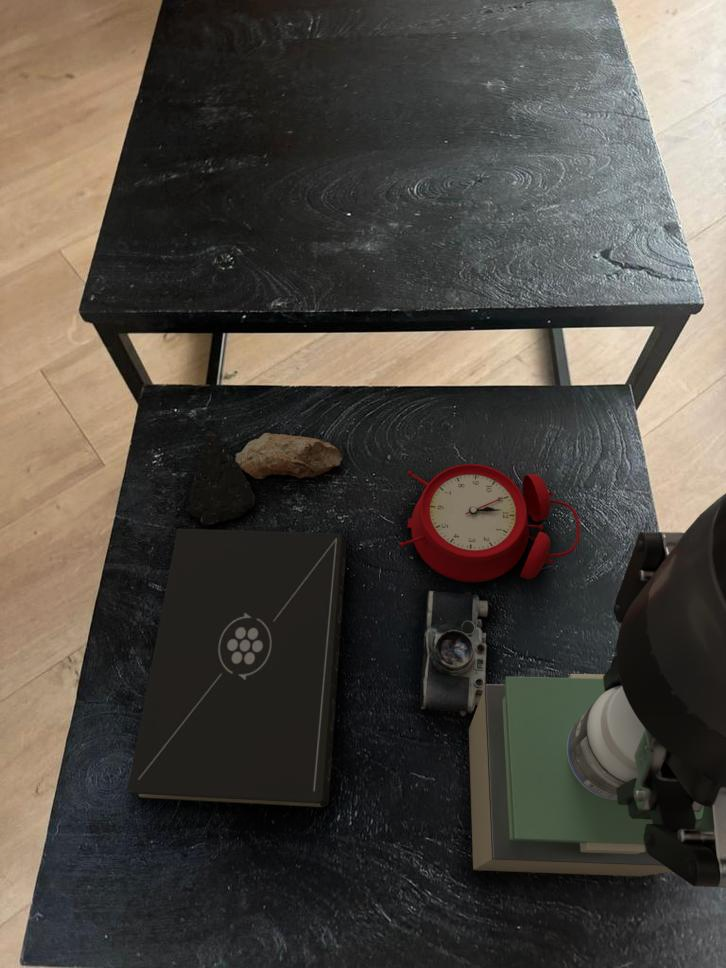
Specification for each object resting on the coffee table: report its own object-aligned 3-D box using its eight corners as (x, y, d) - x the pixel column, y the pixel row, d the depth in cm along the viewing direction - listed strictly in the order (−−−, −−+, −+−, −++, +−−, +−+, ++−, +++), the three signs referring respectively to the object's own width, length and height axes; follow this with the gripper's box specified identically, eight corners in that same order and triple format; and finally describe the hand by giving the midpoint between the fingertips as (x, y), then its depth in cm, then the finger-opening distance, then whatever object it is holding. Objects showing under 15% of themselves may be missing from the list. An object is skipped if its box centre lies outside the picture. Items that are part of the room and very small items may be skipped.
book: (329, 808, 58) (326, 803, 55) (138, 798, 59) (126, 792, 56) (347, 547, 68) (345, 533, 66) (185, 542, 69) (176, 528, 67)
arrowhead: (188, 528, 69) (178, 436, 74) (191, 531, 70) (180, 440, 75) (256, 511, 69) (242, 420, 74) (258, 515, 70) (243, 424, 75)
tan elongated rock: (340, 491, 73) (346, 440, 74) (335, 483, 69) (342, 430, 70) (234, 480, 74) (242, 430, 75) (225, 472, 70) (233, 419, 71)
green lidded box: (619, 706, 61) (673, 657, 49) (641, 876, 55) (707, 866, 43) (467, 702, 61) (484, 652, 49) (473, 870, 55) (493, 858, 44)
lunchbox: (667, 693, 48) (691, 674, 44) (694, 859, 43) (723, 854, 39) (496, 689, 48) (505, 670, 44) (505, 852, 44) (515, 846, 40)
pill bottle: (612, 694, 43) (655, 650, 36) (672, 768, 41) (730, 737, 34) (547, 742, 42) (577, 706, 35) (604, 820, 40) (649, 800, 33)
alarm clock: (404, 453, 69) (577, 447, 64) (418, 487, 74) (579, 484, 69) (392, 559, 64) (578, 560, 59) (408, 588, 69) (581, 590, 64)
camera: (487, 598, 65) (492, 580, 62) (481, 720, 61) (487, 708, 57) (427, 592, 66) (429, 574, 62) (417, 713, 61) (419, 701, 57)
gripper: (994, 905, 19) (737, 907, 34) (841, 431, 26) (683, 604, 41) (691, 893, 20) (567, 900, 35) (620, 430, 27) (542, 601, 42)
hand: (630, 739), depth 38 cm, fingers closed on pill bottle, 4 cm apart
